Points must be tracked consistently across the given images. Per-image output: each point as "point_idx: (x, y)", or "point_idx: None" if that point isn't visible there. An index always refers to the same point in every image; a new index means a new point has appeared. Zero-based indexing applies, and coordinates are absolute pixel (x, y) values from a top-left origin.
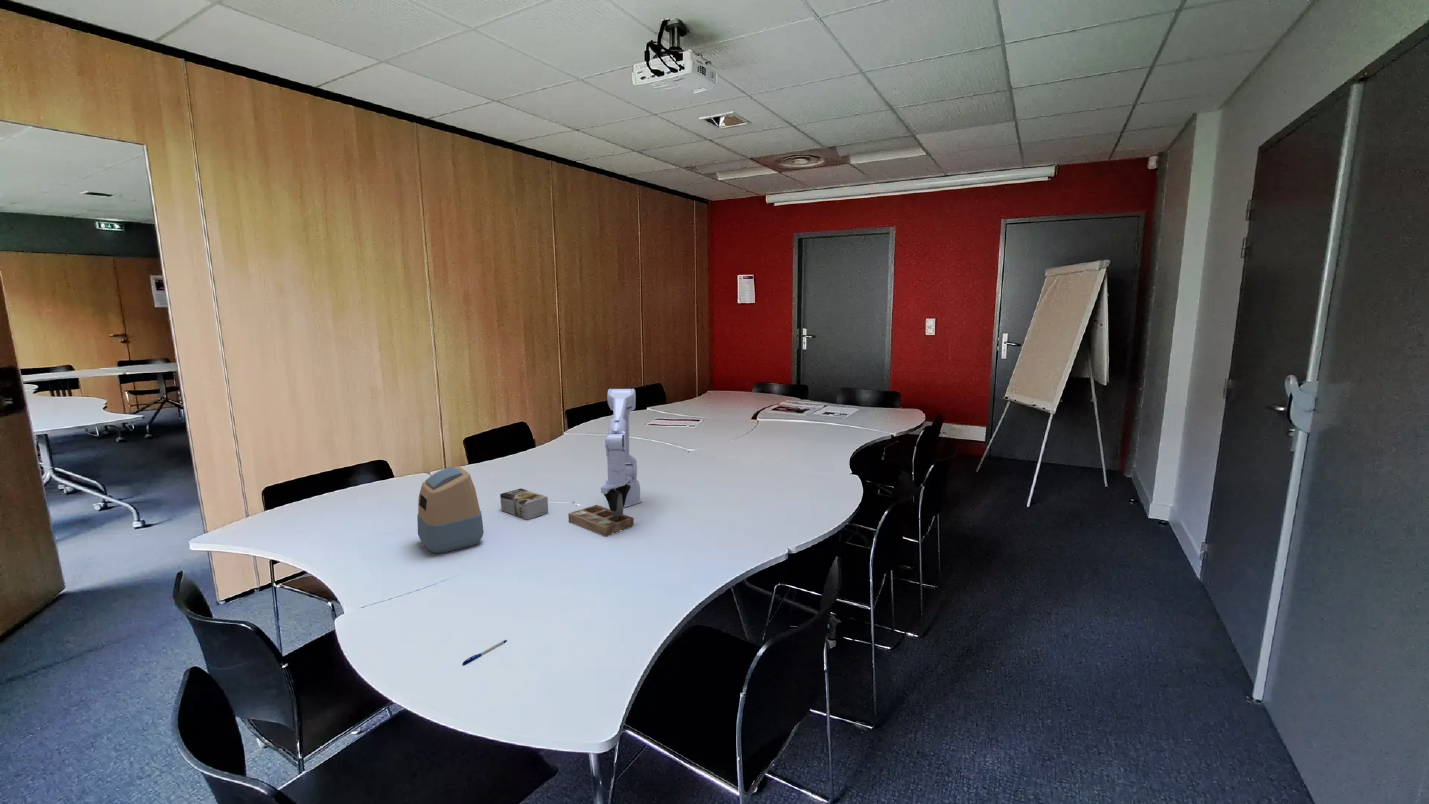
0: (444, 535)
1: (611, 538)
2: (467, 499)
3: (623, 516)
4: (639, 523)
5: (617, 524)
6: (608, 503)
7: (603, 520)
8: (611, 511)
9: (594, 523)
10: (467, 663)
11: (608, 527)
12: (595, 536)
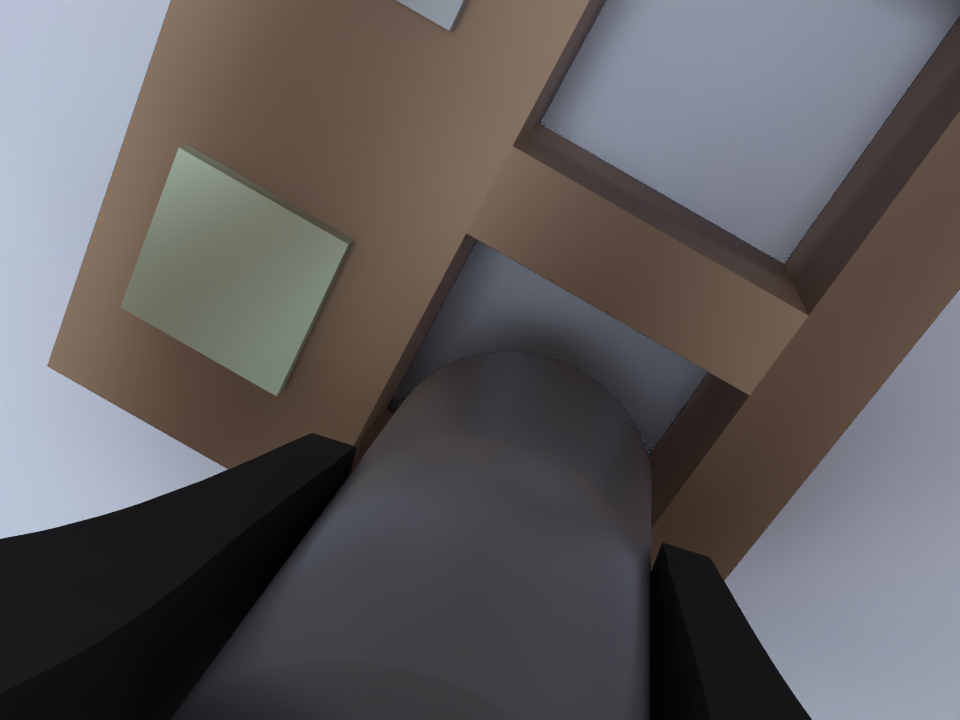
0: None
1: (120, 417)
2: None
3: (666, 518)
4: (779, 654)
5: None
6: (187, 497)
7: (304, 222)
8: (388, 422)
9: (149, 77)
10: None
11: (122, 395)
12: (94, 156)
